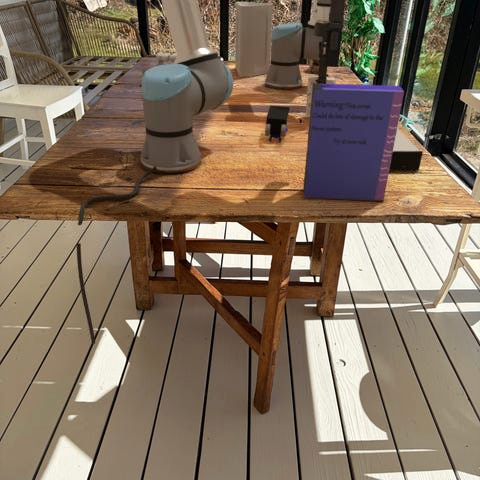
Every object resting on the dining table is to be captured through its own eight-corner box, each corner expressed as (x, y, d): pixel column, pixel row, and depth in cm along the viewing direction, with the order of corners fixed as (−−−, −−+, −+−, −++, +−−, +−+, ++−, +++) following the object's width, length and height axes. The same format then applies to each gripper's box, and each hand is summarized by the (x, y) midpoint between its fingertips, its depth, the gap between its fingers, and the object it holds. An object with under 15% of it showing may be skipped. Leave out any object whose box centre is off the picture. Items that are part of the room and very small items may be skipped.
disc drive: (349, 170, 120) (352, 151, 117) (332, 140, 139) (334, 123, 137) (418, 171, 120) (423, 152, 118) (392, 140, 140) (395, 124, 137)
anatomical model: (315, 76, 229) (315, 76, 215) (302, 63, 228) (301, 62, 214) (334, 55, 225) (335, 53, 211) (321, 42, 224) (321, 39, 210)
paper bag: (273, 76, 210) (276, 6, 196) (239, 77, 209) (240, 6, 194) (266, 67, 226) (268, 2, 212) (235, 67, 225) (235, 1, 210)
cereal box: (379, 191, 109) (398, 84, 97) (383, 201, 105) (404, 90, 93) (303, 188, 110) (312, 82, 98) (304, 197, 106) (314, 88, 94)
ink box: (331, 113, 159) (335, 76, 153) (331, 117, 155) (335, 80, 149) (305, 112, 160) (308, 75, 154) (305, 116, 156) (308, 79, 150)
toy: (175, 75, 210) (174, 58, 206) (151, 64, 228) (150, 49, 224) (222, 69, 222) (222, 53, 218) (195, 59, 239) (195, 45, 236)
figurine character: (286, 149, 136) (289, 127, 148) (287, 124, 131) (290, 104, 143) (262, 148, 137) (267, 126, 149) (263, 123, 132) (268, 103, 144)
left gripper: (324, -57, 101) (315, 49, 112) (322, -60, 80) (311, 71, 91) (360, -57, 100) (347, 50, 111) (368, -59, 79) (351, 73, 90)
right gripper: (315, 17, 151) (309, 92, 163) (314, 25, 136) (307, 106, 148) (339, 18, 150) (331, 93, 162) (340, 26, 135) (331, 108, 147)
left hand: (331, 60), depth 101 cm, fingers open, 13 cm apart
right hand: (319, 99), depth 155 cm, fingers closed on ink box, 5 cm apart
